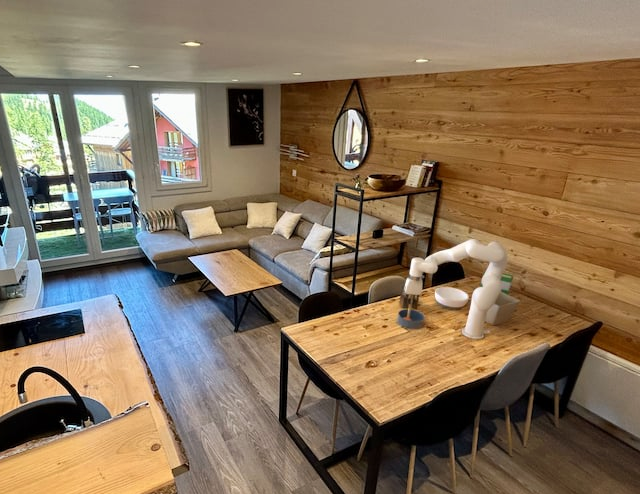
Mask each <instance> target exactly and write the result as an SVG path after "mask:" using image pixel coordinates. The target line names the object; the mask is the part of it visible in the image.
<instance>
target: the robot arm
mask: <svg viewBox="0 0 640 494" xmlns="http://www.w3.org/2000/svg"><path fill="white" fill-rule="evenodd" d="M468 257H470V258H472V259H477V260H480V261H483V262H489V264H488V266H487V268H486V269H487V270H486V269H485V270H486V272H485V271H484V272H485V274H484V276H483V275H482V277H483V278H481V281H482V285H483V287H480V286H479V287H476V288H475V289H474V290H473V292H472V296H471V301H470V308H469V311H468V315H467V319H466V325H465V327H463V328H462V329H461V333H462V335H463V336H465V337H466V338H469V339H472V340H483V339H484V337H485V334H487V335H488V334H491V330H488V329H487V328H484V327H485V322H486V321H485V319H486V315H487V311H488V309H490V308H491V307H492V306H493V305H494V303H495V301H496V300H497V298H498V296H499V294H500V292H501V290H502V283H501V280H500V279H501V277H502V275H503V273H504V272H505V270H506V268H507V265H508V253H507V251H506V249H505V247H504V246H503V245H502V243H500V242H498V241H491V242H489V243H488V244H487V245H485V244H482V242H481V241H480V240H479V239H477V238H469V239H468V240H466V241H464V242H461V243H459V244H457V245H455V246H452V247H451V248H448V249H444V250H440V251H437V252H434V253H433V254H430V255H429V256H427V257H426V258H425V259H424V258H422V257H418V256H417V257H413V258H412V259H411V262H410V268H409V275H408V277H407V278H406V281H405V284H404V288H403V291H404V292H403V295H406V296H407V297H408V300H407V302H408V304H410V302H411V298H410V297H411V294H413V295H414V297H413V302H412V304H413V305H414V303H415V300H416V298H417V297H422V296H423V279H424V278H425V275H423V273H426V274H435V273H436V272H437V271H438V268H439V267H438V265H440V264H443V263H445V262H453V263H454V262H455V263H458V262H460V261H462V260H464V259H466V258H468Z"/></svg>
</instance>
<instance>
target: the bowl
mask: <svg viewBox="0 0 640 494" xmlns="http://www.w3.org/2000/svg"><path fill="white" fill-rule="evenodd" d="M434 298H435V300H436V304H437V305H439V306H440V307H442V308H443V309H446V310H452V311H453V310H454V311H457V310H461V309H463V308H464V306H466V305H467V303H468V302H469V299H470V295H469V294H468V293H467V292H465V291H464V290H461V289H460V288H455V287H450V286H441V287H438V288H436V289H435V290H434Z"/></svg>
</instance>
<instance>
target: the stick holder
mask: <svg viewBox="0 0 640 494" xmlns="http://www.w3.org/2000/svg"><path fill="white" fill-rule="evenodd" d="M403 292H404V290H400V295H399V302H398V303H399V305H400V307H401V309H408V308H409V304H408V302H407V300H408V297H407V296H406V295H403ZM411 295H413V294H411ZM413 296H414V295H413ZM419 297H420V296H419ZM419 297H417V298H416V300H415V303H414V305H413V304H412V308H411V310H418V306H419V300H420V298H419Z"/></svg>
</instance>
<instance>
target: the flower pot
mask: <svg viewBox="0 0 640 494" xmlns="http://www.w3.org/2000/svg"><path fill="white" fill-rule="evenodd" d="M520 301H521V300H520V299H518V298H515V297H513V296H511V295H509V294H508V295H507V294H505V293H502V292H500V294H499V296H498V298H497V300H496V301H495V303H494V305H493V306H492V307H491V308H490V309H488V311H487V315H486V319H485V322H486V323H487V324H489V325H491V326H497V325H501V324H504V323H506V322H508V321H509V319H510V318H511V316H512V315H513V314H514V312H515V311H516V309H517V307H518V306H519V304H520Z"/></svg>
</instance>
